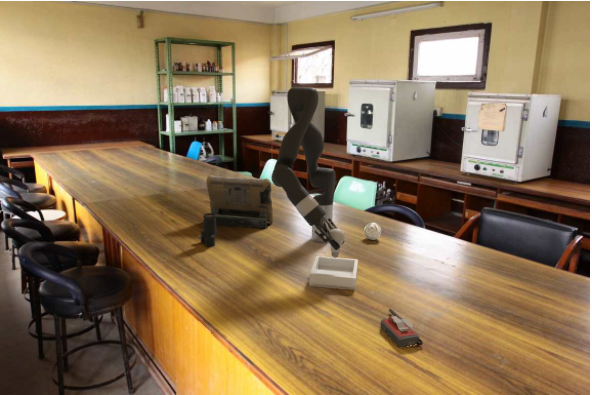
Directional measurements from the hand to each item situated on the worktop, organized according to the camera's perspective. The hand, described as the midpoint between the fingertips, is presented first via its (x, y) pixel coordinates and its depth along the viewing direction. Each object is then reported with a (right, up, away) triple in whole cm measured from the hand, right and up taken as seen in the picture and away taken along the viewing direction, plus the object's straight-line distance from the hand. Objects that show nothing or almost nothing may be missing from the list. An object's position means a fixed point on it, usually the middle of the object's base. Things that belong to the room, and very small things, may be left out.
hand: (340, 246), depth 163 cm
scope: (-54, -3, +35) cm, 64 cm away
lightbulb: (-2, -5, +2) cm, 5 cm away
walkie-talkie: (+13, -22, -31) cm, 40 cm away
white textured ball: (+19, -2, +47) cm, 51 cm away
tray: (-2, -12, +4) cm, 13 cm away
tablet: (-44, +4, +66) cm, 80 cm away
